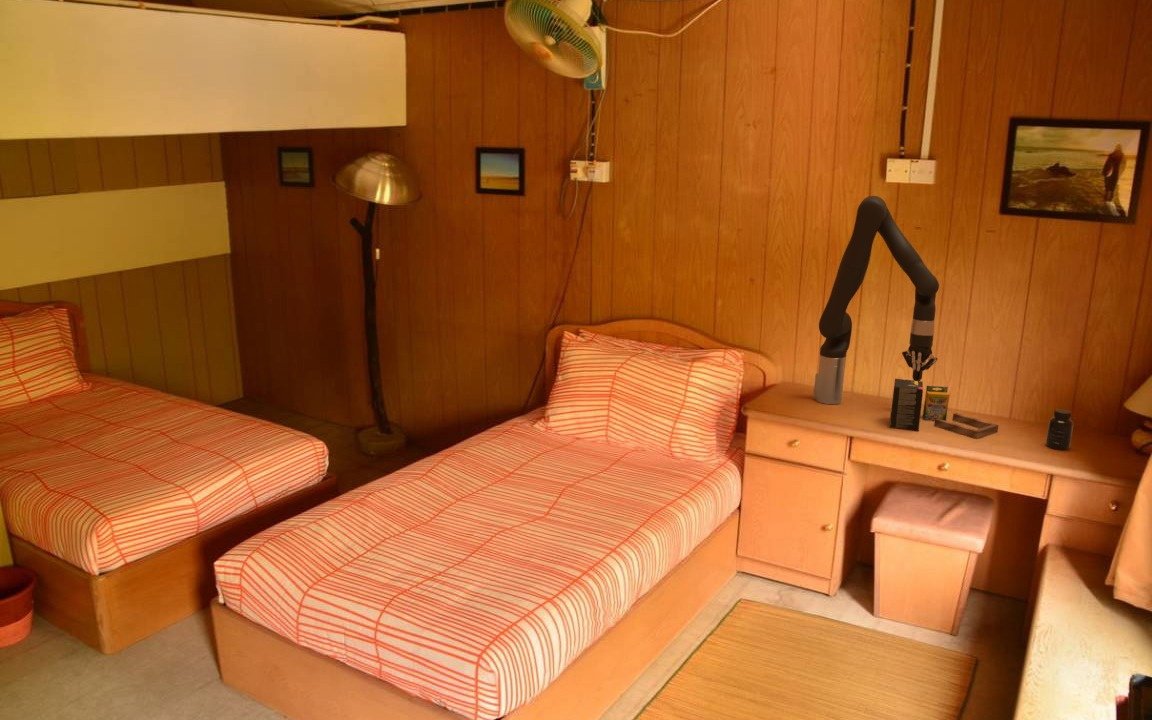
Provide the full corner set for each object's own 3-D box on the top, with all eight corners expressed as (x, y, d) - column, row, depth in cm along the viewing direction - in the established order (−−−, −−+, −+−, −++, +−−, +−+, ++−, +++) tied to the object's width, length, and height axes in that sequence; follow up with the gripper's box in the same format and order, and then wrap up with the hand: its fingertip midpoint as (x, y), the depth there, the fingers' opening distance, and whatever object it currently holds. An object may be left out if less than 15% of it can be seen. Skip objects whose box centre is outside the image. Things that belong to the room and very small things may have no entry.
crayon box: (924, 420, 315) (928, 387, 312) (922, 417, 318) (926, 385, 315) (946, 421, 315) (950, 389, 312) (943, 418, 318) (948, 386, 315)
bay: (934, 425, 310) (934, 419, 309) (954, 419, 317) (955, 412, 316) (976, 439, 298) (977, 432, 297) (997, 431, 305) (998, 425, 304)
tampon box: (918, 431, 304) (924, 389, 300) (889, 428, 307) (894, 386, 303) (918, 421, 314) (923, 380, 310) (889, 418, 317) (894, 377, 313)
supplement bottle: (1048, 441, 297) (1054, 406, 294) (1071, 446, 293) (1077, 410, 290) (1043, 447, 292) (1048, 411, 289) (1066, 452, 288) (1072, 415, 285)
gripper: (898, 329, 318) (894, 378, 323) (932, 337, 308) (927, 386, 312) (911, 327, 323) (906, 374, 327) (945, 334, 312) (940, 383, 317)
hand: (916, 380), depth 320 cm, fingers closed
